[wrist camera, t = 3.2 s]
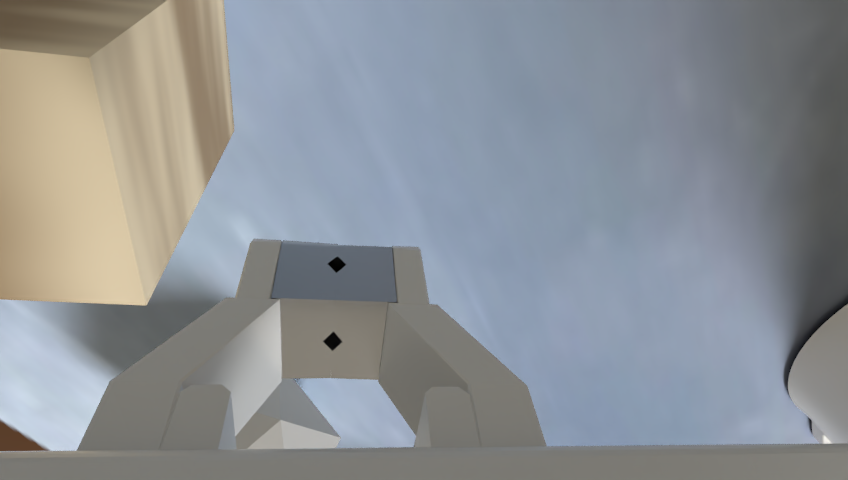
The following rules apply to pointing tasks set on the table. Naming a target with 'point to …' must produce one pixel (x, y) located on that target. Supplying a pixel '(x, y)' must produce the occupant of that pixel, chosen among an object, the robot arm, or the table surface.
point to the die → (287, 422)
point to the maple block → (105, 141)
